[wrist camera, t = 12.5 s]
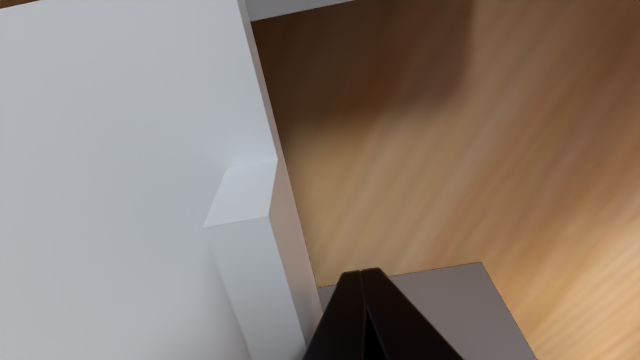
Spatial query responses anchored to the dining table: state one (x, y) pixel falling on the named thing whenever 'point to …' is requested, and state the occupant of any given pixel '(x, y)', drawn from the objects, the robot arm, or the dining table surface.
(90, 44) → the lid
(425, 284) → the housing
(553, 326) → the dining table surface
